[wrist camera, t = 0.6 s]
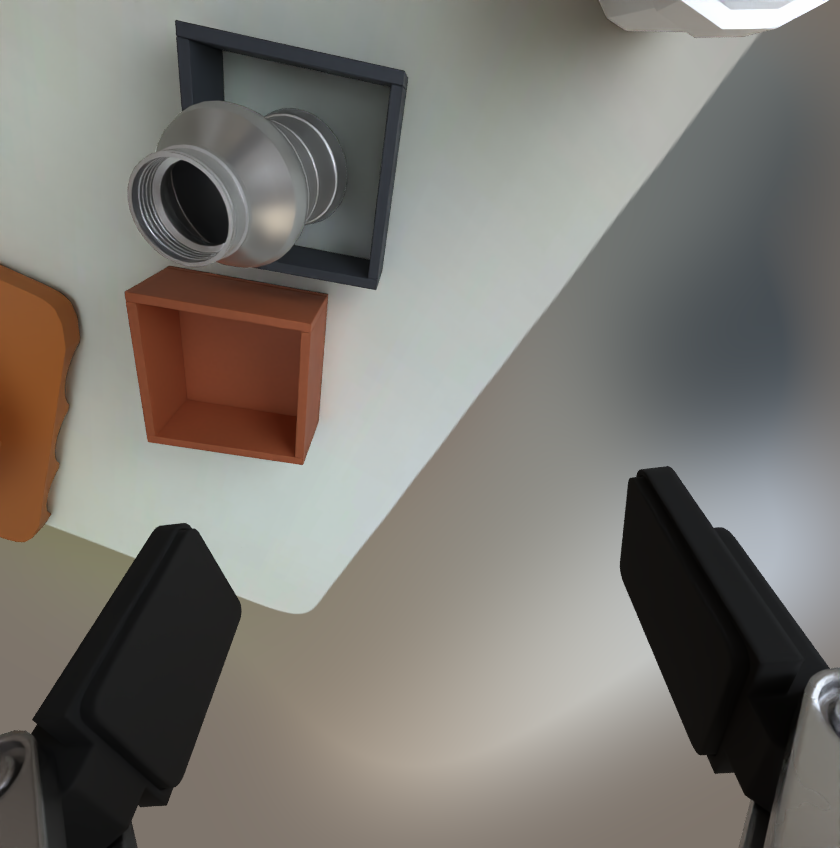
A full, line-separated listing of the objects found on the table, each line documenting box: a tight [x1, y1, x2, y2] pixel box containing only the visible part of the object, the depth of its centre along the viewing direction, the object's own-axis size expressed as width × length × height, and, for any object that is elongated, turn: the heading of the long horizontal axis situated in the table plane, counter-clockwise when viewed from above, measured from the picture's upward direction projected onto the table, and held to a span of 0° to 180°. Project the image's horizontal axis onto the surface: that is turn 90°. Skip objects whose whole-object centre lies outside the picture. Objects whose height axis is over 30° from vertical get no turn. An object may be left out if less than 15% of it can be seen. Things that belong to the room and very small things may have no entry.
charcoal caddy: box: [175, 20, 408, 290], centre depth 31 cm, size 12×12×5 cm
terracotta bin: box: [125, 266, 328, 465], centre depth 38 cm, size 12×12×7 cm
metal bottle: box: [128, 100, 347, 268], centre depth 25 cm, size 6×7×20 cm
